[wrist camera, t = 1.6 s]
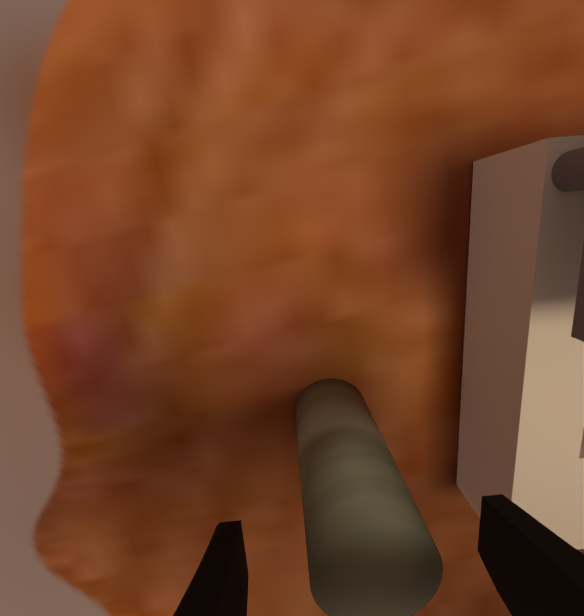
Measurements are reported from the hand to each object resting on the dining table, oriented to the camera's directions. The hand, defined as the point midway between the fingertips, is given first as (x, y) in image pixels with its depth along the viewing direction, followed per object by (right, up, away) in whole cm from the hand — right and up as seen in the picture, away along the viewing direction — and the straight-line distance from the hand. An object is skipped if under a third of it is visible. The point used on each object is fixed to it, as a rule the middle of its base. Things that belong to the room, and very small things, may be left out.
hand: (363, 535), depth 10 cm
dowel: (0, +2, +7) cm, 7 cm away
